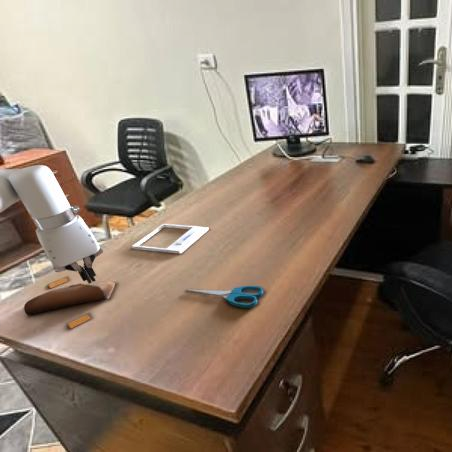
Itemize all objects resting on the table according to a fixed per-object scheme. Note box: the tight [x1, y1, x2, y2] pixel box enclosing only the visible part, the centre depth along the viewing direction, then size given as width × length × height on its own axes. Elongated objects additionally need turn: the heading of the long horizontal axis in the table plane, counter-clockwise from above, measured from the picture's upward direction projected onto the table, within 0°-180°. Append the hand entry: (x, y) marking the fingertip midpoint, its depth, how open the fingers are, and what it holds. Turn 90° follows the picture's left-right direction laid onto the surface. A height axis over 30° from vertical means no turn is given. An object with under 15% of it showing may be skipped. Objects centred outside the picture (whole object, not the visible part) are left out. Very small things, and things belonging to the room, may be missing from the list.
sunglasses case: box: [23, 281, 117, 316], centre depth 88 cm, size 18×7×7 cm
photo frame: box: [131, 223, 210, 254], centre depth 113 cm, size 15×1×18 cm
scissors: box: [186, 285, 264, 309], centre depth 86 cm, size 7×1×20 cm
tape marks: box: [48, 277, 91, 330], centre depth 89 cm, size 4×25×1 cm, turn 46°
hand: (91, 280), depth 91 cm, fingers closed
